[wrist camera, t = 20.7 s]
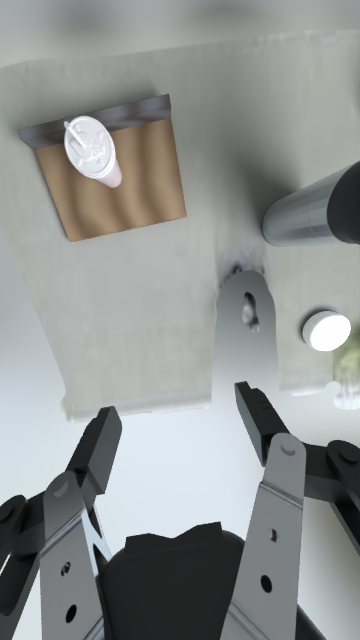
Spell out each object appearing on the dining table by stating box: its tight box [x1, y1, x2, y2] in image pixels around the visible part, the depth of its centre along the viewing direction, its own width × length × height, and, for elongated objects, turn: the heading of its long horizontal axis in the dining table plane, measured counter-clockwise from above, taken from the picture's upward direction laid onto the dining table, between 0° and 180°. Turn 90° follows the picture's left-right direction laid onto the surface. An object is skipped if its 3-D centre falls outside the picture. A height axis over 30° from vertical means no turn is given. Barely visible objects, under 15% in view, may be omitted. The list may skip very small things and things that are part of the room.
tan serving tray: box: [17, 94, 187, 242], centre depth 33 cm, size 24×16×4 cm
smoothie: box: [64, 116, 122, 188], centre depth 27 cm, size 6×6×14 cm
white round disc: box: [302, 311, 350, 351], centre depth 46 cm, size 10×10×4 cm
